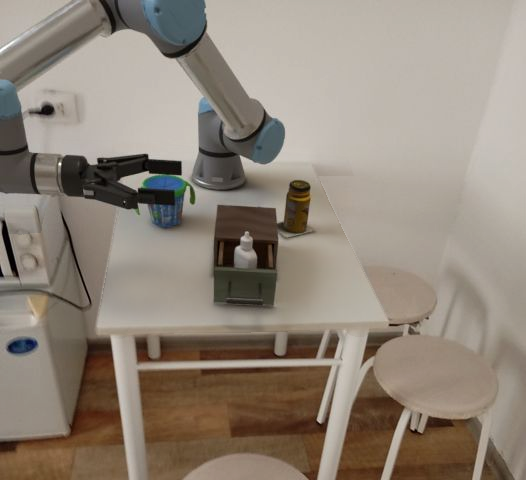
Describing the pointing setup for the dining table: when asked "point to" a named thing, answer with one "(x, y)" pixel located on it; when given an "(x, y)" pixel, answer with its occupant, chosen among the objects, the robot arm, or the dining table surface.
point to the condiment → (296, 209)
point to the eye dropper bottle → (245, 253)
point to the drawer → (245, 277)
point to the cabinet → (245, 227)
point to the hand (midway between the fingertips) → (178, 182)
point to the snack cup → (167, 213)
